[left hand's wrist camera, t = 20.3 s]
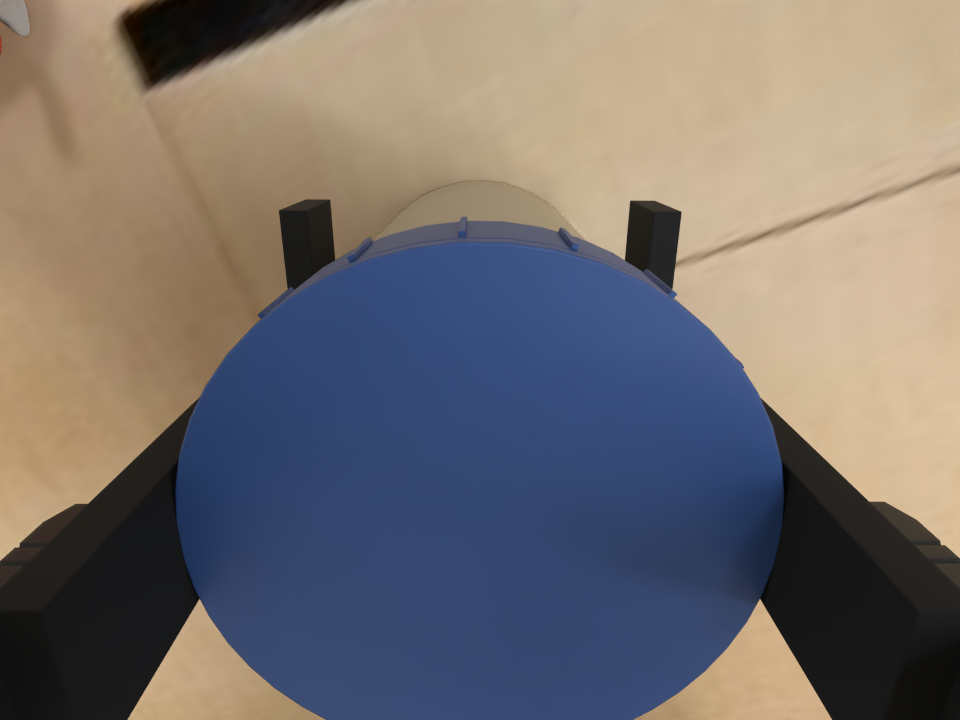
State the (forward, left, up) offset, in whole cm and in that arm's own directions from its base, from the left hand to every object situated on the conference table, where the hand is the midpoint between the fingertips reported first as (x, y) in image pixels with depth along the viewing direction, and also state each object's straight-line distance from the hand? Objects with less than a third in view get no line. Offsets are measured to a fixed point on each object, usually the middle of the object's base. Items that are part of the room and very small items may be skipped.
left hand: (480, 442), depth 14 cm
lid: (0, 0, +3) cm, 3 cm away
